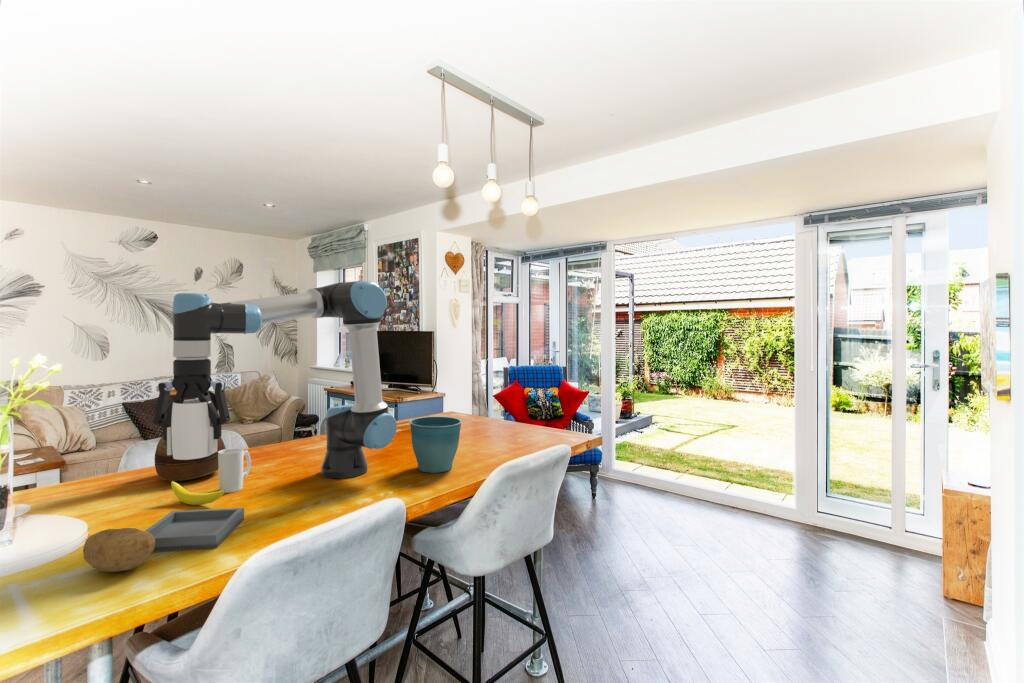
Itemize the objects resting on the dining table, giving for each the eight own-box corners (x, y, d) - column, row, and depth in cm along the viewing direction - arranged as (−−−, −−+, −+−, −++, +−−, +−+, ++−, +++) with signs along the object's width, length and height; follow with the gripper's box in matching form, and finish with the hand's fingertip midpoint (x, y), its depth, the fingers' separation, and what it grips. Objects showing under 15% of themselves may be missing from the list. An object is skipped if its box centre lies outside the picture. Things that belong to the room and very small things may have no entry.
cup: (181, 467, 112) (181, 405, 112) (164, 461, 117) (164, 402, 117) (220, 459, 120) (220, 400, 119) (202, 454, 124) (202, 397, 124)
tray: (244, 519, 128) (244, 507, 128) (216, 548, 112) (216, 534, 112) (172, 522, 126) (172, 511, 126) (132, 553, 109) (132, 539, 109)
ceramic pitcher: (140, 481, 159) (139, 388, 158) (200, 465, 177) (200, 381, 177) (181, 489, 151) (180, 391, 150) (240, 471, 170) (239, 384, 169)
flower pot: (471, 466, 178) (471, 419, 178) (438, 479, 163) (438, 428, 162) (433, 459, 188) (433, 414, 187) (398, 470, 173) (398, 422, 172)
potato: (113, 555, 108) (112, 519, 108) (168, 561, 105) (168, 524, 105) (65, 577, 98) (64, 537, 98) (125, 584, 96) (124, 544, 95)
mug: (228, 494, 147) (227, 454, 146) (213, 491, 150) (212, 452, 149) (258, 485, 156) (257, 447, 155) (243, 482, 159) (243, 444, 158)
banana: (220, 510, 134) (220, 487, 134) (165, 503, 139) (165, 481, 139) (229, 506, 137) (229, 484, 137) (175, 500, 142) (174, 478, 142)
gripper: (245, 357, 123) (246, 448, 124) (151, 357, 120) (152, 450, 120) (234, 359, 116) (234, 455, 116) (133, 359, 112) (134, 458, 113)
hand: (192, 453), depth 118 cm, fingers closed on cup, 8 cm apart
